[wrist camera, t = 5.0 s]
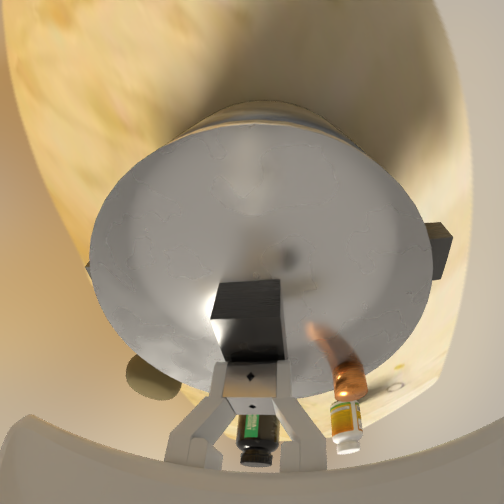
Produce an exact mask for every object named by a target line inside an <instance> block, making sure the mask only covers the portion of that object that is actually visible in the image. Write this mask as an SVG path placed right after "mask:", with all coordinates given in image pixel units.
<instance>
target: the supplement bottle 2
mask: <svg viewBox="0 0 504 504" xmlns="http://www.w3.org/2000/svg"><path fill="white" fill-rule="evenodd" d="M330 412H331V425H332V439H333V442H335V443H337V444H338V446H337V453H338V454H348V453H353V452H356V451H359V450H360V443H359V442H358V440H359V439H361V437H362V436H363V431H362V423H361V415H360V407H359V402H358V401H357V400H354V401H350V402H341V401H338V402H336V403H334V404H333V405H331V407H330Z"/></svg>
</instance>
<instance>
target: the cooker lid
mask: <svg viewBox="0 0 504 504" xmlns="http://www.w3.org/2000/svg"><path fill="white" fill-rule="evenodd" d="M89 259H90V273H91V278H92V282H93V287H94V291H95V293H96V296H97V299H98V301H99V304H100V306H101V308H102V310H103V312H104V314H105V316H106V317H107V319H108V321H109V322H110V324H111V325H112V327H113V328H114V329H115V331H116V332H117V333H118V335H119V336H120V337H121V338H122V339H123V340H124V342H125V343H126V344H127V345H128V346H129V347H130V348H131V349H132V350H133V351H134V352H136V353H137V354H138V355H139V356H140V357H141V358H143V359H144V360H145V361H146V362H148V363H149V364H150V365H152V366H153V367H155V368H156V369H158V370H160V371H161V372H163V373H164V374H166V375H168V376H170V377H172V378H174V379H176V380H178V381H180V382H182V383H184V384H187V385H189V386H191V387H194V388H197V389H200V390H203V391H206V392H210V387H211V381H212V375H213V370H214V365H215V363H216V362H255V361H274V360H277V361H278V360H290V361H291V374H292V397H295V398H296V399H297V398H304V397H309V396H314V395H318V394H322V393H325V392H328V391H331V390H334V393H335V399H336V400H338V401H341V402H350V401H354V400H357V399H360V398H362V397H363V396H365V395H366V394H367V392H368V388H367V383H366V378H365V375H367V374H368V373H370V372H371V371H373V370H374V369H376V368H377V367H379V366H380V365H381V364H382V363H384V362H385V361H386V360H387V359H389V358H390V357H391V356H392V355H393V354H394V353H395V352H396V351H397V350H398V349H399V348H400V347H401V346H402V345H403V344H404V342H405V341H406V340H407V339H408V337H409V336H410V335H411V333H412V332H413V330H414V329H415V327H416V325H417V324H418V322H419V320H420V318H421V316H422V314H423V312H424V309H425V307H426V304H427V302H428V298H429V294H430V290H431V285H432V274H433V259H432V249H431V244H430V240H429V236H428V233H427V229H426V226H425V224H424V222H423V220H422V218H421V216H420V213H419V211H418V209H417V207H416V206H415V204H414V203H413V201H412V200H411V198H410V197H409V196H408V194H407V193H406V192H405V190H404V189H403V188H402V186H401V185H400V184H399V183H398V182H397V181H396V180H395V179H394V178H393V177H392V176H391V175H390V174H389V173H387V172H386V171H385V170H384V169H383V168H382V167H381V166H380V165H379V164H377V163H376V162H375V161H374V160H372V159H371V158H370V157H369V156H367V155H366V154H364V153H363V152H361V151H360V150H358V149H357V148H355V147H354V146H352V145H350V144H349V143H347V142H346V141H344V140H342V139H340V138H337V137H335V136H333V135H330V134H328V133H326V132H323V131H321V130H318V129H315V128H311V127H307V126H303V125H299V124H295V123H291V122H283V121H272V120H244V121H232V122H225V123H221V124H217V125H213V126H209V127H205V128H201V129H198V130H196V131H193V132H191V133H189V134H186V135H184V136H182V137H179V138H177V139H175V140H173V141H171V142H169V143H168V144H166V145H164V146H163V147H161V148H159V149H158V150H156V151H155V152H153V153H152V154H150V155H149V156H147V157H146V158H144V159H143V160H141V161H140V162H138V163H137V164H136V165H135V166H134V167H133V168H132V169H131V170H129V171H128V172H127V173H126V174H125V175H124V176H123V177H122V178H121V179H120V180H119V181H118V183H117V184H116V185H115V187H114V188H113V189H112V191H111V192H110V194H109V195H108V197H107V198H106V199H105V201H104V203H103V205H102V207H101V209H100V212H99V214H98V216H97V218H96V221H95V225H94V228H93V232H92V236H91V243H90V254H89Z"/></svg>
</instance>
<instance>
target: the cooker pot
mask: <svg viewBox="0 0 504 504" xmlns="http://www.w3.org/2000/svg"><path fill="white" fill-rule="evenodd" d="M244 120H272V121H283V122H291V123H295V124H299V125H303V126H307V127H311V128H315V129H318V130H321V131H323V132H326V133H328V134H330V135H333V136H335V137H337V138H340V139H342V140H344V141H346V142H347V143H349V144H350V145H352V146H354V147H355V148H357V149H358V150H360V151H361V152H363V153H364V154H366V153H365V152H364V151H362V150H361V149H360V148H359V147H358V146H357V145H356V144H355V143H353V142H352V141H351V140H350V139H349V138H348V137H346V136H345V135H344V134H343V133H342V132H340V131H339V130H338V129H337V128H336V127H334V126H333V125H332V124H330V123H329V122H328V121H327V120H325V119H324V118H323V117H321V116H319V115H317V114H316V113H314V112H312V111H310V110H308V109H305V108H303V107H300V106H297V105H294V104H290V103H285V102H281V101H269V100H261V101H249V102H244V103H239V104H235V105H232V106H229V107H227V108H224V109H221V110H219V111H218V112H216V113H214V114H212V115H210V116H208V117H207V118H205V119H204V120H202V121H200V122H199V123H197V124H196V125H194V126H192V127H191V128H189V129H188V130H186V131H185V132H183V133H182V134H180V135H179V136H177V137H176V138H174V139H173V140H175V139H177V138H179V137H182V136H184V135H186V134H189V133H191V132H193V131H196V130H198V129H201V128H205V127H209V126H213V125H217V124H221V123H225V122H232V121H244ZM173 140H172V141H173ZM170 142H171V141H170ZM167 144H168V143H167ZM366 155H367V154H366ZM367 156H368V155H367ZM424 224H425V226H426V229H427V233H428V236H429V240H430V244H431V249H432V259H433V274H432V280H439V279H441V277H442V274H443V271H444V267H445V264H446V261H447V258H448V254H449V250H450V247H451V243H452V239H453V236H452V235H451V234H450V233H449V232H448V230H447V229H446V228H445V227H444V226H443V225H442V223H441V222H436V223H424ZM85 268H86V270H87V272H88V274H89V276H90V277H91V273H90V261H89V262H88V264H87V265H86V266H85ZM91 279H92V278H91Z"/></svg>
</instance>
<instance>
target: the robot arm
mask: <svg viewBox="0 0 504 504" xmlns="http://www.w3.org/2000/svg"><path fill="white" fill-rule="evenodd" d="M236 415H276V416H277V418H278V420H279V421H280V423H281V424H282V426H283V427H284V429H285V431H286V432H287V434H288V435H289V437H290V438H291V440H292V441H287V442H284V443H283V444H281V459H280V473H253V472H235V471H223V470H221V469H222V459H223V455H222V454H221V452H219V451H218V450H217V449H216V448H215V447H214V446H213V445H214V443H215V442H216V441H217V440H218V438H219V437H220V436H221V435H222V433H223V432H224V431H225V429H226V428H227V427H228V425H229V424H230V423H231V422H232V420H233V419H234V418H235V416H236ZM0 504H504V417H502V418H500V419H499V420H496V421H495V422H493V423H491V424H489V425H487V426H484V427H482V428H480V429H478V430H476V431H474V432H471V433H469V434H467V435H464V436H462V437H460V438H457V439H454V440H452V441H449V442H447V443H444V444H441V445H438V446H436V447H432V448H429V449H426V450H423V451H420V452H416V453H413V454H409V455H406V456H402V457H398V458H394V459H390V460H385V461H381V462H376V463H371V464H366V465H361V466H355V467H347V468H340V469H332V470H327V458H326V438H325V437H324V435H323V434H322V433H321V432H320V430H319V429H318V428H317V426H316V425H315V424H314V422H313V421H312V420H311V418H310V417H309V416H308V414H307V413H306V412H305V410H304V409H303V408H302V406H301V405H300V404H299V402H298V401H297V400H296V398H295V397H292V374H291V361H290V360H278V361H277V360H274V361H255V362H216V363H215V365H214V370H213V375H212V381H211V387H210V392H209V397H205V398H204V399H203V400H202V401H201V402H200V403H199V404H198V405H197V406H196V407H195V408H194V409H193V410H192V411H191V413H189V414H188V415H187V416H186V418H185V419H184V420H183V421H182V422H181V423H180V424H179V425H178V426H177V427H176V428H175V429H174V430H173V431H172V432H171V433H170V436H169V440H168V445H167V449H166V454H165V458H164V462H163V461H159V460H155V459H150V458H146V457H142V456H138V455H134V454H131V453H127V452H124V451H121V450H117V449H114V448H111V447H108V446H105V445H102V444H99V443H96V442H93V441H91V440H88V439H86V438H83V437H80V436H78V435H75V434H73V433H71V432H68V431H66V430H64V429H62V428H59V427H57V426H55V425H53V424H51V423H48V422H47V421H45V420H43V419H41V418H39V417H37V416H35V415H32V414H29V415H27V416H25V417H23V418H22V419H20V420H19V421H18V422H16V423H15V424H14V425H13V426H12V427H11V428H10V430H9V431H8V433H7V435H6V437H5V440H4V442H3V445H2V447H1V450H0Z"/></svg>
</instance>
